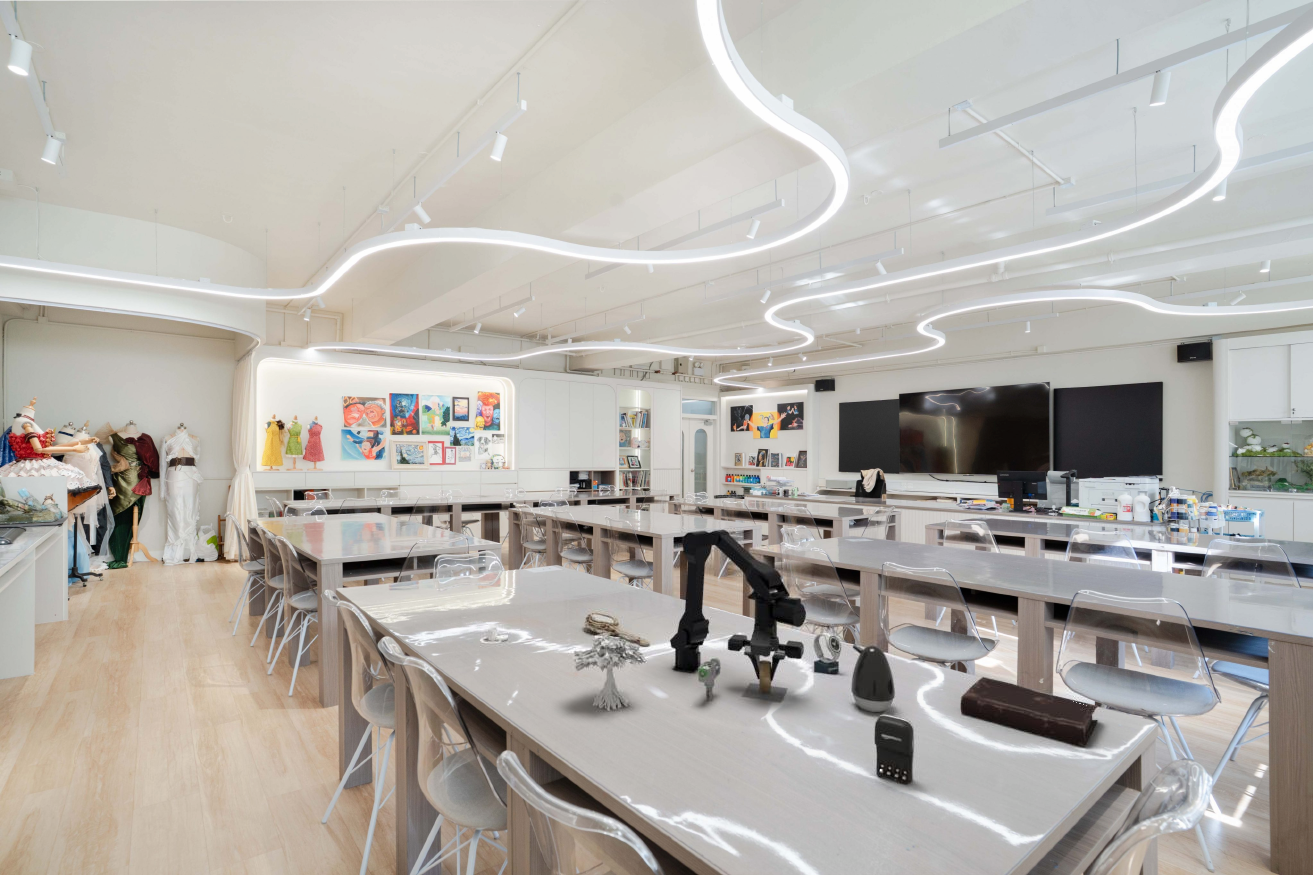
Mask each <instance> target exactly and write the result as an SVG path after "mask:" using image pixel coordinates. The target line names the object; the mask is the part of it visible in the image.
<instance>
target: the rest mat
mask: <svg viewBox="0 0 1313 875" xmlns="http://www.w3.org/2000/svg"><path fill="white" fill-rule="evenodd" d="M788 689H789V688H787V687H779V686H773V685H771V691H770V692H763V691H760V690H759V683H753V682H750V683H749V684H748V685H747V687H746V688H745V690H744V691H743V693H742V695H741V697H743V698H748V699H754V700H760V701H761V700H762V701H766V702H767V701H768V702H774V703H780V704H781V703H782V702H783V700H784V698H785V696H786V694H787V691H788Z"/></svg>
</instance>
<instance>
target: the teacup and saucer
mask: <svg viewBox="0 0 1313 875" xmlns="http://www.w3.org/2000/svg"><path fill="white" fill-rule="evenodd" d="M486 631H487V633H486ZM484 635H485V637H482V638H480V639H479V642H480V643H482V644H489V642H491V644H499V643H501V642H504V641H506V640H508V639H509V635H508V634H502V635H498V628H497V627H488V628H487V629H485V630H484ZM485 639H488V642H486V641H484V640H485ZM496 640H497V641H496Z"/></svg>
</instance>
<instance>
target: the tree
mask: <svg viewBox="0 0 1313 875" xmlns="http://www.w3.org/2000/svg"><path fill="white" fill-rule="evenodd" d="M614 636H615V635H610V634H608V633H606V634H605V633H603V634H602V633H598V634H596V635H594V639H592V642H593V646H591V648H590V649H586V650H584V651H583V650H574V651H573V652H574V656H573V657H572V658H573V661H574V663H575V667H574V668H575V670H576V671H577V672H579V671H581V670H582V669H584V668H585V669H587V668H588V669H590V666H591V665H592V666H593V667H594V666H596V667H598V668H600V670H601V672H604V670H606V679H605V682H604V685H603V687H602V689H601V690H600V691H599V693H598V695H597V696H595V698H594V699H593V704H592V706H595V707H598V708H599V709H602V708H604V709H606V710H607V711H608V712H609V711H610V710H611V708H612V709H613V710H616V709H620V708H622V704H623V705H624V706H625V707H629V705H628V704H629V703H630V702H629V700H628V699H627V698H626V697H625V696H624V695H622V694H621V692H620V691H619V690H618V687H617V684H616V680H615V677H614V672H613V668H614V669H615V668H616V669H624V667H626V664H627V662H628V661H629V664H631V665H633V666H634V667H636V668H637V667H638V666H637V664H638V665H639V666H640V667H641V666H642V665H641V664H643V663H645V664H646V662H647V661H646V660H647V659H646V657H645V656H644V655H643V653H642V652H640V651H641V650H640V647H641V645H638V646H636V645H633V644H632V643H627V641H626V639H621V637H620V636H619V637H617V636H615V637H614ZM627 660H628V661H627Z"/></svg>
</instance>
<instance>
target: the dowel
mask: <svg viewBox="0 0 1313 875" xmlns="http://www.w3.org/2000/svg"><path fill="white" fill-rule="evenodd" d="M771 667H772V661H769V660H763V659H762V660H760V662H759V679H758V680H759V681H758V682H759V683H758V684H759V690H760V691H763V692H770V691H771V686H772V681H771Z"/></svg>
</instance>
